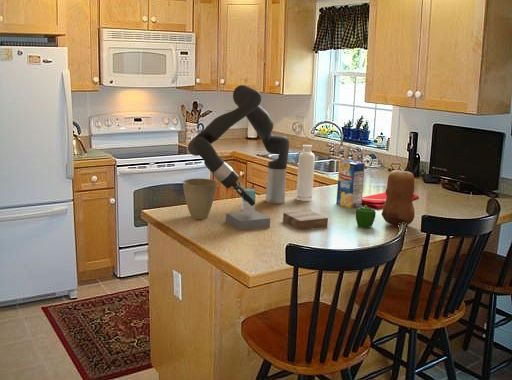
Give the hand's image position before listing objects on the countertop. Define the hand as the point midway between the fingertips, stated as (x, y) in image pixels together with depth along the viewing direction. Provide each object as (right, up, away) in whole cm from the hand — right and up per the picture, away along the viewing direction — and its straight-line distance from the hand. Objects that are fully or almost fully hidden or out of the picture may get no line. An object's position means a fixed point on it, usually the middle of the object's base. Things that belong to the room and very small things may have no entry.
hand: (252, 202), depth 247 cm
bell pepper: (+49, -11, +7) cm, 50 cm away
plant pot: (-24, -7, +10) cm, 27 cm away
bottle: (+26, 0, +52) cm, 58 cm away
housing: (-2, -3, 0) cm, 4 cm away
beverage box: (+48, -2, +44) cm, 65 cm away
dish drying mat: (+70, -1, +56) cm, 90 cm away
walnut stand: (+23, -9, +6) cm, 25 cm away
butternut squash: (+64, -11, +10) cm, 65 cm away
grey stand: (-2, -9, +2) cm, 10 cm away
